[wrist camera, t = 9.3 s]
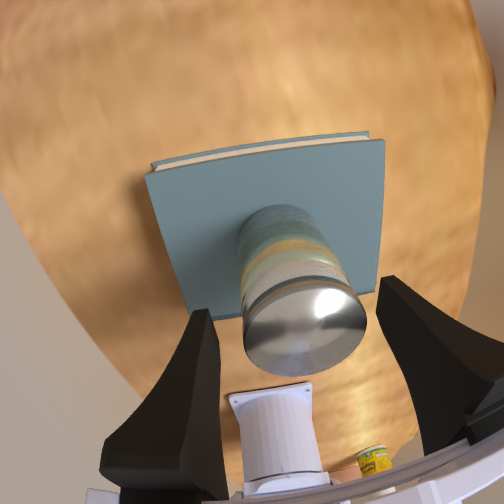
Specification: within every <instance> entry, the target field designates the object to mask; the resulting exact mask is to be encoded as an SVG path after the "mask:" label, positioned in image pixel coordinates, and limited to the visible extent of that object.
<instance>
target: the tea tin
mask: <svg viewBox="0 0 504 504" xmlns="http://www.w3.org/2000/svg"><path fill="white" fill-rule="evenodd" d="M237 251H238V273H239V286H240V299H241V311H242V317H243V343H244V349H245V352H246V354H247V356H248V358H249V359H250V360H251V362H252V363H253V364H255V365H256V366H257V367H258V368H260V369H262V370H264V371H266V372H269V373H272V374H275V375H280V376H290V377H292V376H305V375H311V374H315V373H318V372H321V371H324V370H326V369H329V368H331V367H333V366H335V365H337V364H338V363H340V362H341V361H343V360H344V359H345V358H347V357H348V356H349V355H350V354H351V353H352V352H353V351H354V350H355V349H356V348H357V346H358V345H359V343H360V342H361V340H362V338H363V336H364V334H365V331H366V326H367V317H366V312H365V310H364V308H363V306H362V304H361V302H360V300H359V298H358V296H357V294H356V293H355V291H354V290H353V289H352V287H351V285H350V282H349V280H348V278H347V276H346V274H345V272H344V271H343V269H342V267H341V265H340V263H339V261H338V259H337V258H336V256H335V254H334V252H333V250H332V248H331V247H330V245H329V243H328V241H327V240H326V238H325V237H324V235H323V234H322V232H321V230H320V228H319V226H318V225H317V223H316V221H315V220H314V218H313V217H312V216H311V215H310V214H309V213H307V212H306V211H305V210H303V209H301V208H299V207H296V206H293V205H287V204H277V205H271V206H267V207H265V208H262V209H260V210H258V211H257V212H255V213H254V214H252V215H251V216H250V217H249V218H248V219H247V220H246V221H245V223H244V224H243V226H242V227H241V229H240V232H239V235H238V239H237Z"/></svg>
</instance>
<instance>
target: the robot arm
mask: <svg viewBox="0 0 504 504" xmlns="http://www.w3.org/2000/svg"><path fill="white" fill-rule="evenodd" d="M376 315H377V318H378V321H379V324H380V326H381V329H382V332H383V334H384V336H385V338H386V340H387V342H388V344H389V346H390V348H391V350H392V352H393V354H394V356H395V358H396V360H397V362H398V364H399V366H400V368H401V370H402V372H403V375H404V377H405V380H406V382H407V385H408V388H409V391H410V394H411V398H412V401H413V404H414V408H415V412H416V415H417V420H418V424H419V428H420V433H421V438H422V444H423V450H424V457H422V458H420V459H417V460H414V461H412V462H409V463H406V464H404V465H401V466H398V467H395V468H392V469H389V470H386V471H383V472H380V473H377V474H373V475H370V476H366V477H363V478H359V479H356V480H352V481H348V482H344V483H341V482H339V481H338V480H337V479H335V478H332V479H330V478H329V474H328V472H323V469H322V464H321V460H320V455H319V451H318V446H317V441H316V437H315V432H314V428H313V423H312V384H311V383H310V382H305V383H300V384H295V385H289V386H283V387H277V388H271V389H265V390H258V391H251V392H244V393H236V394H231V395H229V402H230V404H231V407H232V409H233V411H234V414H235V416H236V418H237V421H238V423H239V425H240V436H241V448H242V460H243V471H244V483H243V492H242V491H236V492H235V494H234V495H233V496H232V497H231V499H230V500H229V493H228V487H227V481H226V474H225V467H224V459H223V450H222V441H221V430H220V418H219V402H220V372H221V359H220V347H219V340H218V337H217V333H216V330H215V327H214V324H213V321H212V318H211V315H210V312H209V308H206V309H199V310H194V311H193V312H192V314H191V316H190V319H189V321H188V324H187V326H186V329H185V331H184V333H183V336H182V338H181V340H180V342H179V344H178V346H177V348H176V350H175V352H174V354H173V356H172V358H171V360H170V362H169V363H168V365H167V367H166V369H165V371H164V372H163V374H162V375H161V377H160V379H159V380H158V382H157V383H156V385H155V386H154V388H153V389H152V390H151V392H150V393H149V394H148V396H147V397H146V398H145V400H144V401H143V402H142V403H141V405H140V406H139V407H138V408H137V409H136V410H135V411H134V412H133V414H132V415H131V416H130V417H129V418H128V419H127V420H126V421H125V422H124V423H123V424H122V425H121V426H120V427H119V428H118V429H117V430H116V431H115V432H114V433H112V434H111V435H110V436H109V437H108V438H107V439H106V440H105V442H104V446H103V449H102V454H101V461H100V468H99V471H100V473H101V475H102V476H104V477H105V478H106V479H108V480H109V481H111V482H113V483H114V484H116V485H118V486H120V487H121V492H120V494H119V493H116V492H111V491H104V490H97V489H91V488H89V489H87V494H86V503H85V504H350V500H352V499H356V498H359V497H362V496H366V495H369V494H373V493H376V492H379V491H382V490H386V489H389V488H392V487H394V486H397V485H400V484H403V483H406V482H408V481H411V480H414V479H416V478H419V477H421V476H423V477H421V478H420V480H419V482H417V483H416V484H414V485H411V486H408V487H406V488H403V489H400V490H398V491H395V492H392V493H388V494H385V495H382V496H379V497H376V498H372V499H369V500H366V501H362V502H359V503H355V504H462V502H461V500H463V499H465V498H467V497H469V496H471V495H473V494H474V493H476V492H478V491H480V490H481V489H483V488H485V487H487V486H488V485H490V484H492V483H493V482H495V481H496V480H498V479H499V478H501V477H503V476H504V343H503V342H500V341H497V340H495V339H492V338H490V337H487V336H485V335H483V334H481V333H479V332H477V331H474V330H472V329H470V328H468V327H467V326H465V325H463V324H461V323H460V322H458V321H456V320H454V319H453V318H451V317H450V316H448V315H447V314H445V313H444V312H442V311H441V310H439V309H438V308H436V307H435V306H434V305H432V304H431V303H429V302H428V301H427V300H425V299H424V298H423V297H421V296H420V295H419V294H418V293H416V292H415V291H414V290H412V289H411V288H410V287H409V286H407V285H406V284H405V283H403V282H402V281H401V280H400V279H398V278H397V277H395V276H394V275H391V276H387V277H382V278H381V280H380V287H379V294H378V301H377V307H376ZM426 474H427V475H426ZM424 475H425V476H424Z"/></svg>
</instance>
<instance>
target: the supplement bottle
mask: <svg viewBox="0 0 504 504" xmlns="http://www.w3.org/2000/svg"><path fill="white" fill-rule="evenodd" d="M357 459H358V463H359V467H360V471H361V474H362V478H363V477H366V476H370V475H373V474H377V473H380V472H383V471H386V470H389V469H392V464H391V461H390V458H389V455H388V452H387V449H386V447H385V445H375V446H372V447H369V448H367V449H365V450H363V451H361V452H360V453H358V455H357ZM392 492H395V487H392V488H389V489H386V490H382V491H379V492H376V493H373V494H371V496H372V498H376V497H379V496H382V495H385V494H388V493H392Z"/></svg>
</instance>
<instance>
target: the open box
mask: <svg viewBox="0 0 504 504" xmlns="http://www.w3.org/2000/svg"><path fill="white" fill-rule="evenodd" d="M328 474H329V478H330V479H332V478H335V479H337V480H338V481H339V482H341V483H344V482H348V481H352V480H356V479H359V478H362V474H361V471H360V467H359V466H355V467H351V468H347V469H343V470H339V471H335V472H331V473H328Z"/></svg>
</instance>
